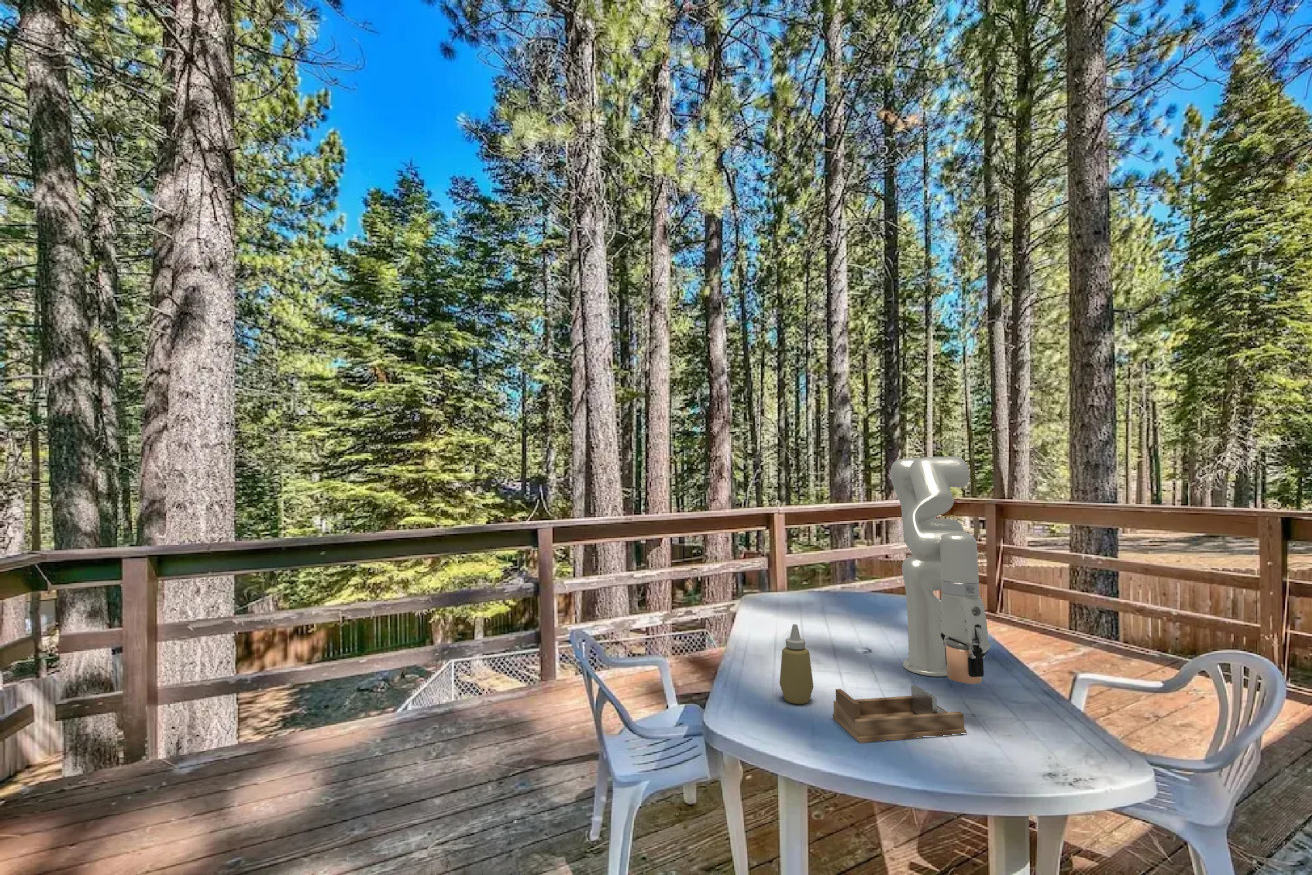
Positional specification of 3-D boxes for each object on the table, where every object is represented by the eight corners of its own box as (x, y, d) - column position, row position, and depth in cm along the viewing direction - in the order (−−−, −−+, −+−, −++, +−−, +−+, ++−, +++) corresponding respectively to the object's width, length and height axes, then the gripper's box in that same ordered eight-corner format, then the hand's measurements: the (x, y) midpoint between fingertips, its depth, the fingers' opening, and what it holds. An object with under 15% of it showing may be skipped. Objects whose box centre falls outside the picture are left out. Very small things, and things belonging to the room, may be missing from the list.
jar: (967, 672, 128) (965, 636, 128) (989, 682, 121) (987, 644, 122) (940, 673, 127) (938, 638, 127) (961, 684, 120) (959, 646, 121)
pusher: (924, 709, 126) (923, 684, 127) (946, 724, 119) (945, 697, 119) (912, 710, 126) (911, 685, 126) (933, 725, 118) (932, 698, 119)
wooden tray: (930, 711, 129) (929, 680, 129) (966, 734, 117) (964, 700, 117) (832, 718, 125) (831, 686, 126) (859, 742, 113) (858, 707, 114)
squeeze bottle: (814, 696, 138) (812, 622, 139) (812, 708, 130) (810, 630, 132) (781, 692, 141) (780, 619, 142) (777, 704, 133) (776, 627, 134)
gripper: (1004, 596, 118) (1009, 683, 116) (949, 582, 135) (953, 658, 133) (972, 597, 116) (976, 685, 115) (921, 583, 134) (924, 659, 132)
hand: (964, 669), depth 124 cm, fingers closed on jar, 6 cm apart
